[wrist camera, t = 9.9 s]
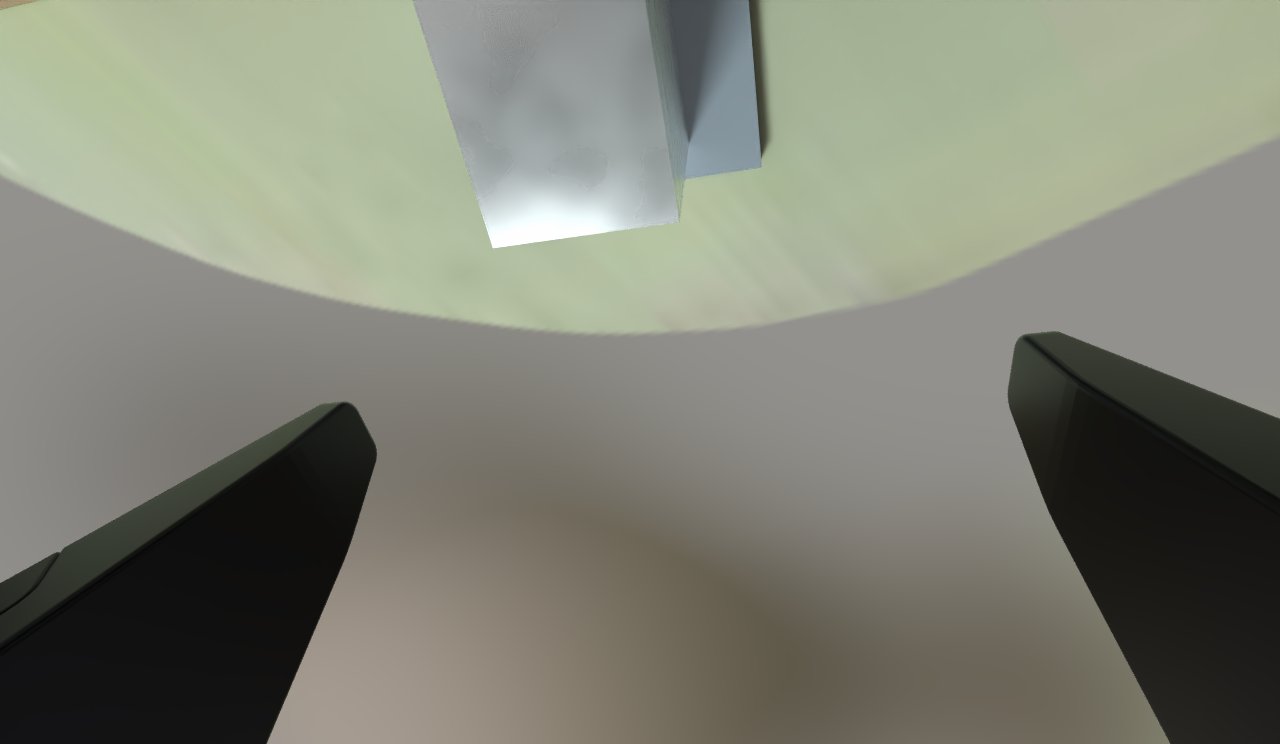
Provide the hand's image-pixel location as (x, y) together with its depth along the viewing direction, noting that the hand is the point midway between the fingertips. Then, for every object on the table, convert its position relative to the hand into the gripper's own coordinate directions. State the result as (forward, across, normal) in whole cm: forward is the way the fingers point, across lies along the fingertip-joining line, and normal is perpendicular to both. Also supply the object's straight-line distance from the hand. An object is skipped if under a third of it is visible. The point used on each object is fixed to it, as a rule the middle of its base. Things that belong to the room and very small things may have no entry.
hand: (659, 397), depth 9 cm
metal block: (+11, +2, -4) cm, 12 cm away
